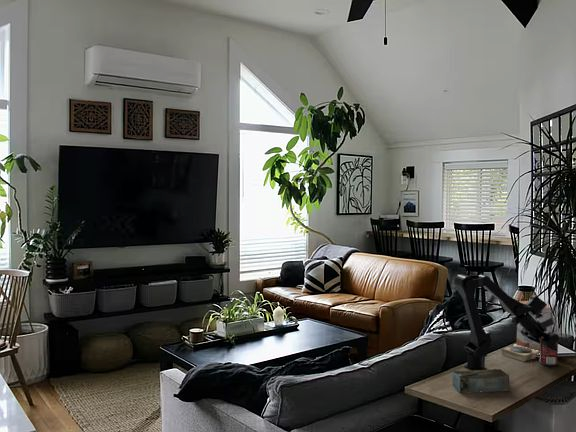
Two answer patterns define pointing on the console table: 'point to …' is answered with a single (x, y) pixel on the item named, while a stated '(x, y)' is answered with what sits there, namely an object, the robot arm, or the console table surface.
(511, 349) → the beige square dish
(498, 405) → the console table surface
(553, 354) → the soda can
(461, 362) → the console table surface
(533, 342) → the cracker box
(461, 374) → the grey rectangular block
